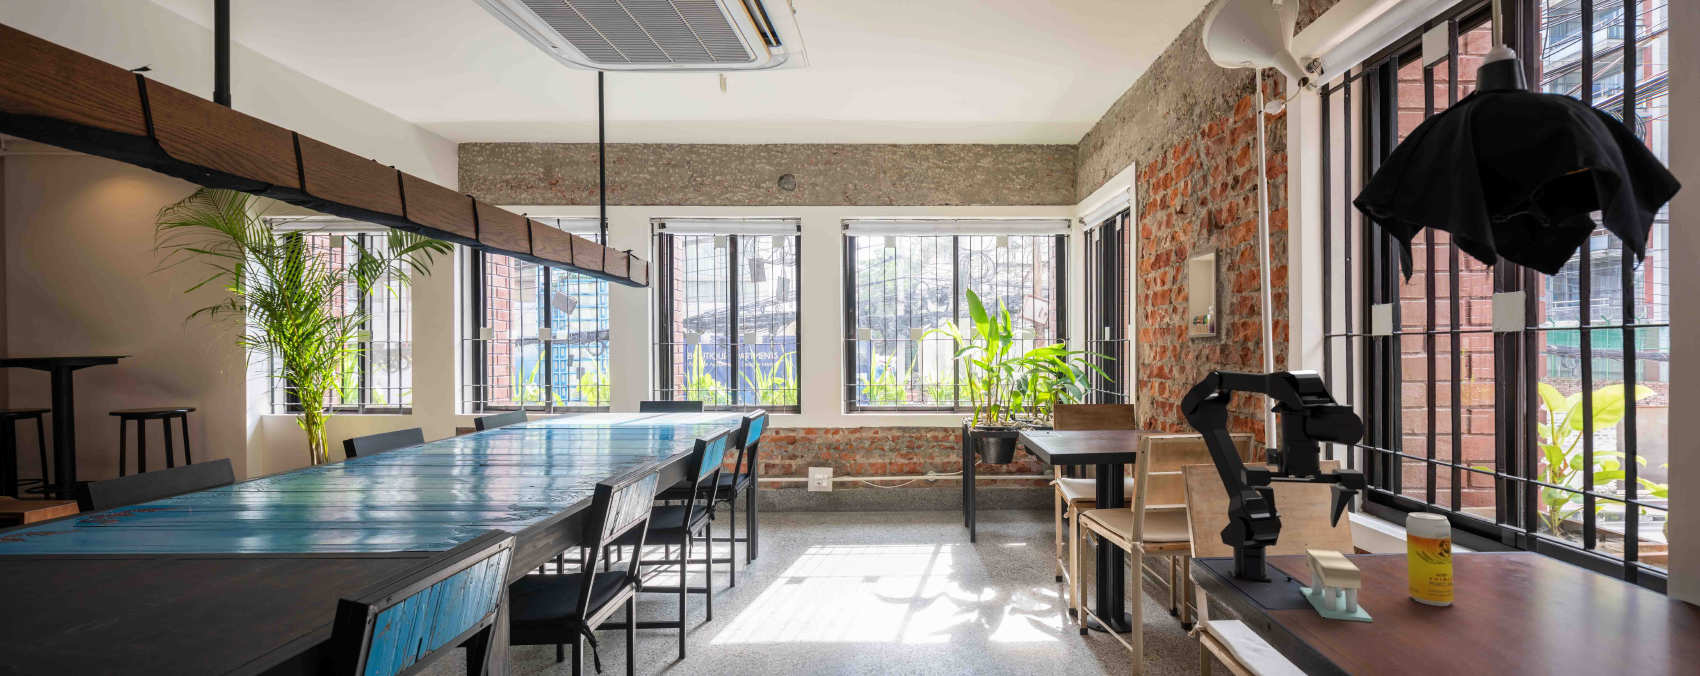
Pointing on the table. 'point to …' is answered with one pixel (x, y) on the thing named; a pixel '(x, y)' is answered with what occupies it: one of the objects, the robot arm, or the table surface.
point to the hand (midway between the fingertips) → (1303, 525)
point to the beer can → (1429, 558)
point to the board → (1333, 568)
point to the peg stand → (1334, 601)
